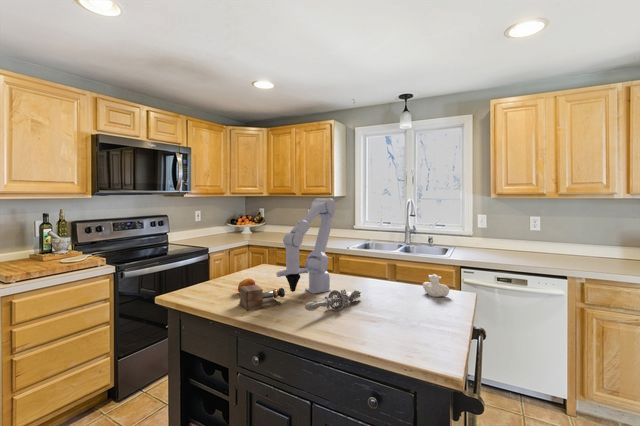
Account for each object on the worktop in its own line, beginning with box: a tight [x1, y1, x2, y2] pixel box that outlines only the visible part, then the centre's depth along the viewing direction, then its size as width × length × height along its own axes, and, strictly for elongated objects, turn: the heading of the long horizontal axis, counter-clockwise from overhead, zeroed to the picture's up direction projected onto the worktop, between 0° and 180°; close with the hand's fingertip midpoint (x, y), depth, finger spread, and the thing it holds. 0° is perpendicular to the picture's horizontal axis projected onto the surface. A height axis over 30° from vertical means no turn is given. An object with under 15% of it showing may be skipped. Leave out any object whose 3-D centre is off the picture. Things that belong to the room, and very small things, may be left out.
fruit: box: [237, 277, 256, 293], centre depth 150 cm, size 8×8×8 cm
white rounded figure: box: [421, 273, 450, 298], centre depth 147 cm, size 12×8×11 cm
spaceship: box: [304, 289, 362, 311], centre depth 129 cm, size 8×35×8 cm
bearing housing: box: [239, 284, 281, 312], centre depth 135 cm, size 14×10×8 cm
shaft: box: [263, 287, 286, 299], centre depth 137 cm, size 12×4×4 cm, turn 120°
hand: (292, 291), depth 143 cm, fingers closed
